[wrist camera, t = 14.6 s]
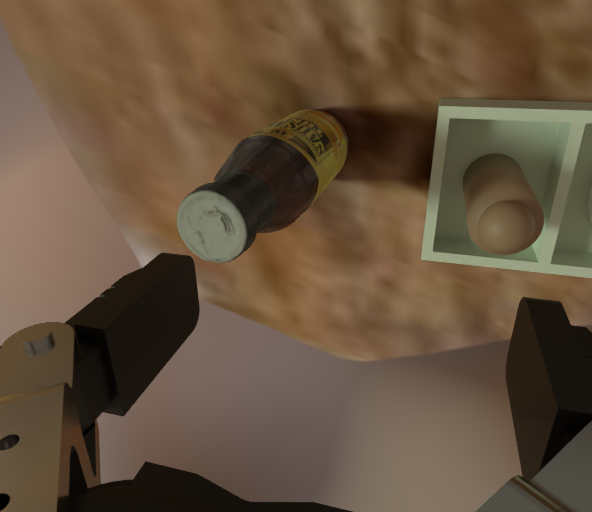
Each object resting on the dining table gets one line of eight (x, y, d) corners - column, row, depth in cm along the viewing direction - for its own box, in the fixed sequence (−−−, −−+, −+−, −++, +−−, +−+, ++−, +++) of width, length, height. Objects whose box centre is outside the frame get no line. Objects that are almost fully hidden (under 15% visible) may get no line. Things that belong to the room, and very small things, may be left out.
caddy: (439, 98, 37) (437, 128, 26) (714, 105, 32) (844, 146, 22) (423, 240, 42) (415, 312, 32) (657, 263, 38) (739, 356, 27)
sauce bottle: (358, 114, 39) (291, 187, 22) (342, 186, 42) (272, 300, 25) (282, 98, 40) (162, 154, 23) (272, 168, 43) (159, 266, 26)
